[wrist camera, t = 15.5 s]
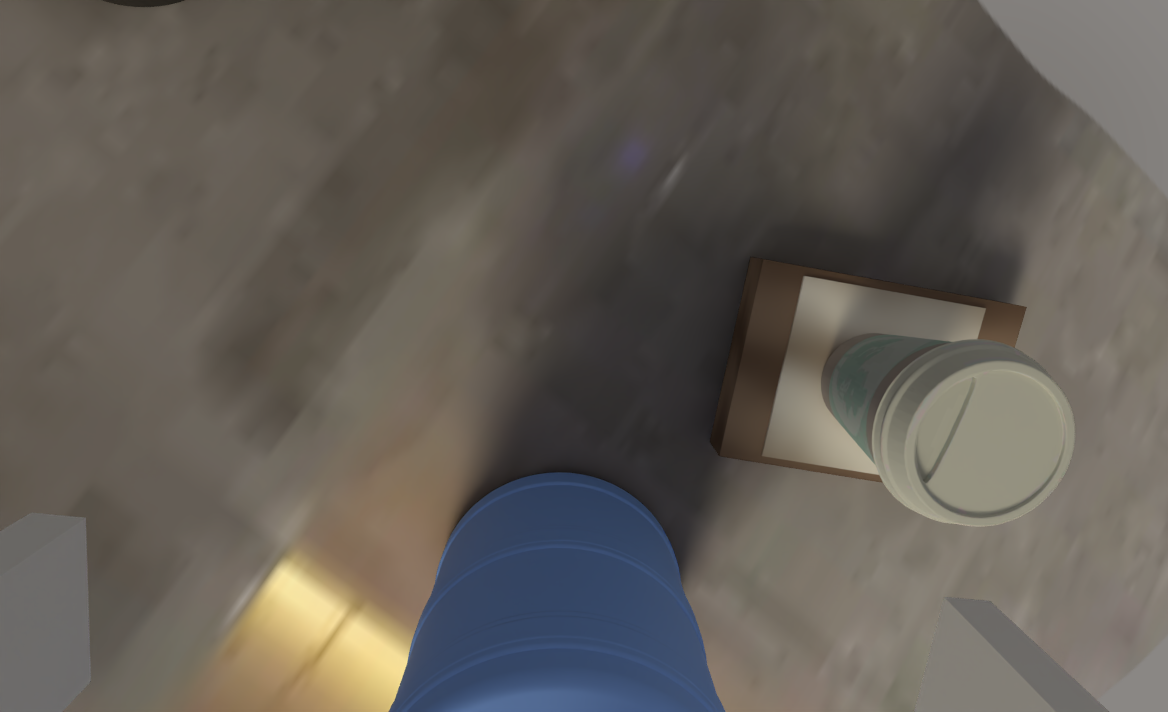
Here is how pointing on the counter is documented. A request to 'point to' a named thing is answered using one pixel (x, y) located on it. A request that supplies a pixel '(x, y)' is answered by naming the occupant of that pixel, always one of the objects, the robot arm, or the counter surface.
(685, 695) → the water jug
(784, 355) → the walnut plinth
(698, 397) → the counter surface
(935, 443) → the coffee cup
